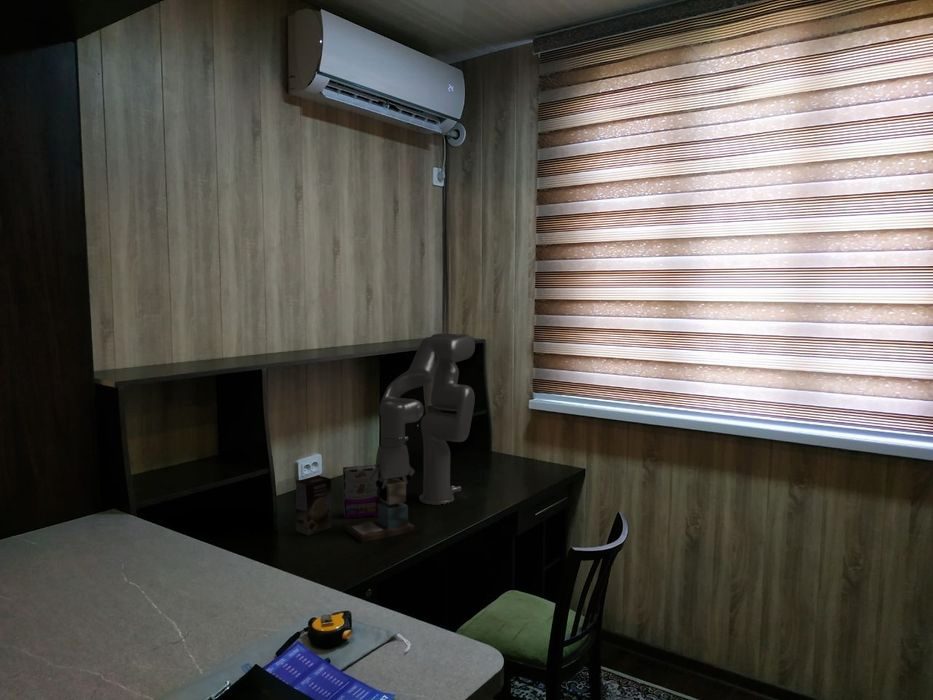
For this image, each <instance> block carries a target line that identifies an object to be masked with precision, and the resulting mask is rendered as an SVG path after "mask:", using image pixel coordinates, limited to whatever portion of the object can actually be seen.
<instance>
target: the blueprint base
mask: <svg viewBox="0 0 933 700" xmlns="http://www.w3.org/2000/svg"><path fill="white" fill-rule="evenodd" d="M344 527H345V531H346V532H347V533H348V534H350V535H351V536H353V537H354V538H355V539H356V540H358V541H359V542H361V543H362V544H363V543H366V542H370V541H371V542H372V541H375V540H379V539H380V540H381V539H384V538H385V539H386V538H388V537H393V536H397V535H401V534H407V533H411V532H414V531H415V529H416V528H415V525H414V524H412V523H410V522H409V506H408V504H406V503H405V502H401V503H396V504H392V505H388V504H387V503H385V502H380V503H379V502H378V516H377V518H375V519H371V520H367V521H362V522H358V523H357V522H356V523H352V524H351V523H350V524H348V525H345V526H344Z"/></svg>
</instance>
